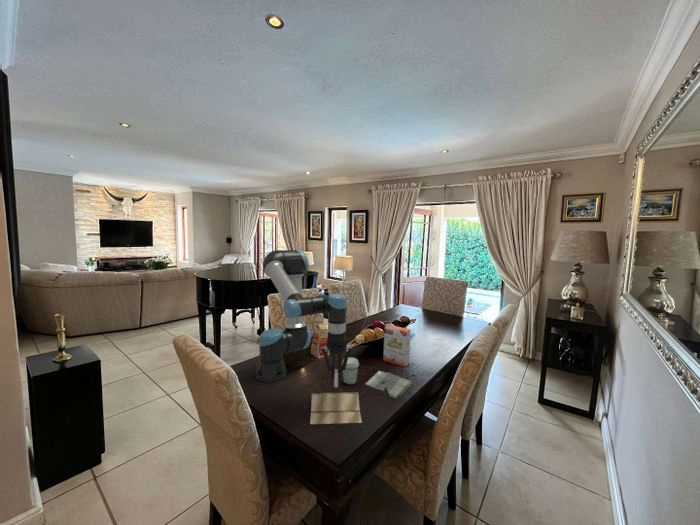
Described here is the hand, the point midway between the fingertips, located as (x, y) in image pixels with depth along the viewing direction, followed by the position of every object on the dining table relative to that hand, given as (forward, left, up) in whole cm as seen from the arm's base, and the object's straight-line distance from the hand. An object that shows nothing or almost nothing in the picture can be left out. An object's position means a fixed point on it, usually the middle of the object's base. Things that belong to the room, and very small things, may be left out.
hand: (336, 385), depth 123 cm
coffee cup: (+8, +19, -10) cm, 23 cm away
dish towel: (+27, +17, -10) cm, 33 cm away
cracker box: (+37, +42, -10) cm, 57 cm away
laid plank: (0, -9, -10) cm, 13 cm away
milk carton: (-7, +55, -10) cm, 56 cm away
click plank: (0, -1, -7) cm, 7 cm away
